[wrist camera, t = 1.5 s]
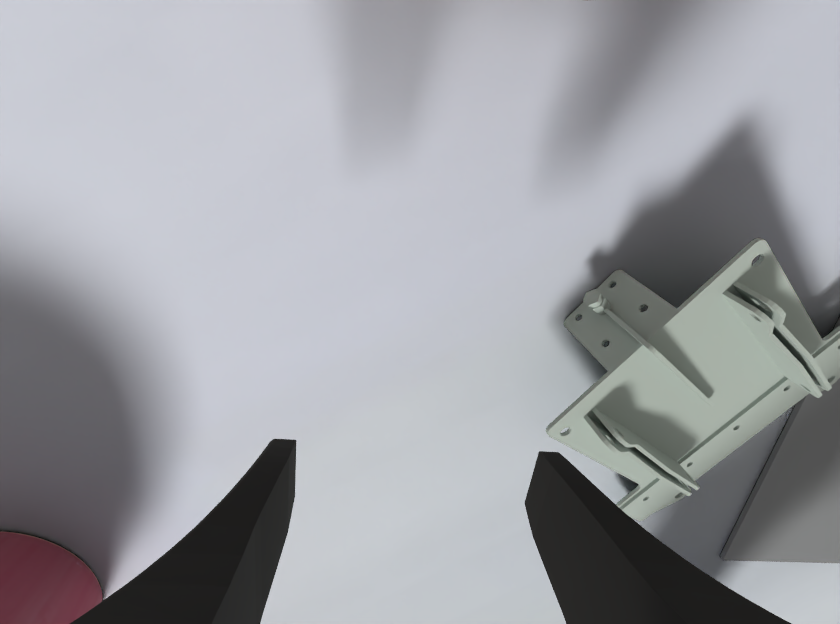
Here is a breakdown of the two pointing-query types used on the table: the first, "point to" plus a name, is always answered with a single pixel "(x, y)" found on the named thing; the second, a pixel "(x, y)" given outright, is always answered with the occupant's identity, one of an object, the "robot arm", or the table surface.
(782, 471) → the rubber mat
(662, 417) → the metal bracket
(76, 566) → the plant pot
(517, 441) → the table surface
